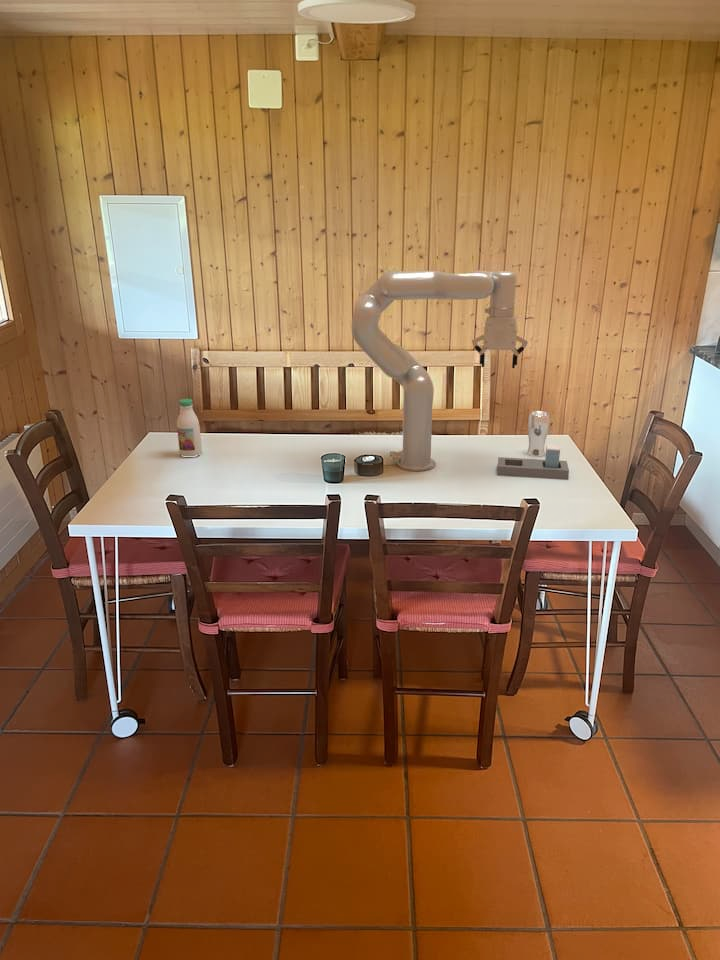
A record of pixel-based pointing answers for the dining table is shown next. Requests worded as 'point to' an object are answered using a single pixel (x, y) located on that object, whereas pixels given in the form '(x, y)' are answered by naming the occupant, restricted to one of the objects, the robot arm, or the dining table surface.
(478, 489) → the dining table surface
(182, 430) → the milk bottle
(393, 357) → the robot arm
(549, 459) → the plug
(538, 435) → the beer glass
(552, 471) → the panel
